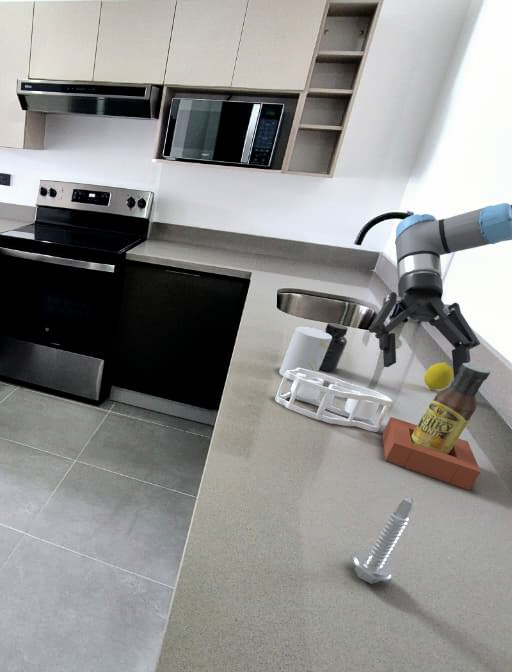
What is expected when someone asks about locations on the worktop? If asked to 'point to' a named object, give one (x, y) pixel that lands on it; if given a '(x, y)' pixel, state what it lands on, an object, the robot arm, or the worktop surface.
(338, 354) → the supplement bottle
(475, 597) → the worktop surface
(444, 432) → the sauce bottle
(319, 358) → the cup
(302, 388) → the skeletal toy car
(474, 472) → the base pad
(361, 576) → the screw
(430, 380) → the lemon
